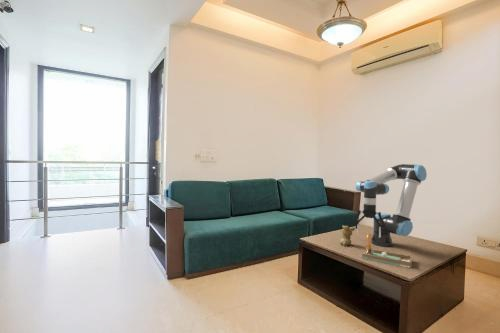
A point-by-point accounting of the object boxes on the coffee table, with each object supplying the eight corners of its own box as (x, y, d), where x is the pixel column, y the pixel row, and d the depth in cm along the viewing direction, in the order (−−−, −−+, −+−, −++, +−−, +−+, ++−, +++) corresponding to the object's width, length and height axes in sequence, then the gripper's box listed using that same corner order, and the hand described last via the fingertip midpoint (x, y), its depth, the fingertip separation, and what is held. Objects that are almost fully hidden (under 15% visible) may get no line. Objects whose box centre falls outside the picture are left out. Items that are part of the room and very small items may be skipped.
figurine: (350, 242, 208) (351, 223, 207) (355, 246, 200) (355, 226, 199) (338, 242, 208) (338, 223, 207) (342, 246, 199) (342, 226, 199)
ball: (381, 255, 178) (381, 250, 178) (387, 257, 176) (387, 251, 176) (380, 257, 175) (381, 252, 175) (386, 258, 173) (387, 253, 173)
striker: (366, 252, 184) (366, 233, 183) (373, 253, 181) (374, 234, 181) (364, 254, 179) (365, 235, 178) (372, 256, 176) (372, 236, 176)
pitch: (365, 252, 188) (365, 247, 187) (412, 261, 172) (412, 255, 172) (362, 258, 177) (362, 252, 176) (411, 268, 161) (411, 262, 161)
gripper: (349, 202, 183) (348, 233, 183) (390, 206, 169) (388, 240, 170) (351, 201, 189) (350, 231, 190) (391, 205, 175) (390, 237, 176)
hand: (368, 235), depth 180 cm, fingers open, 13 cm apart
